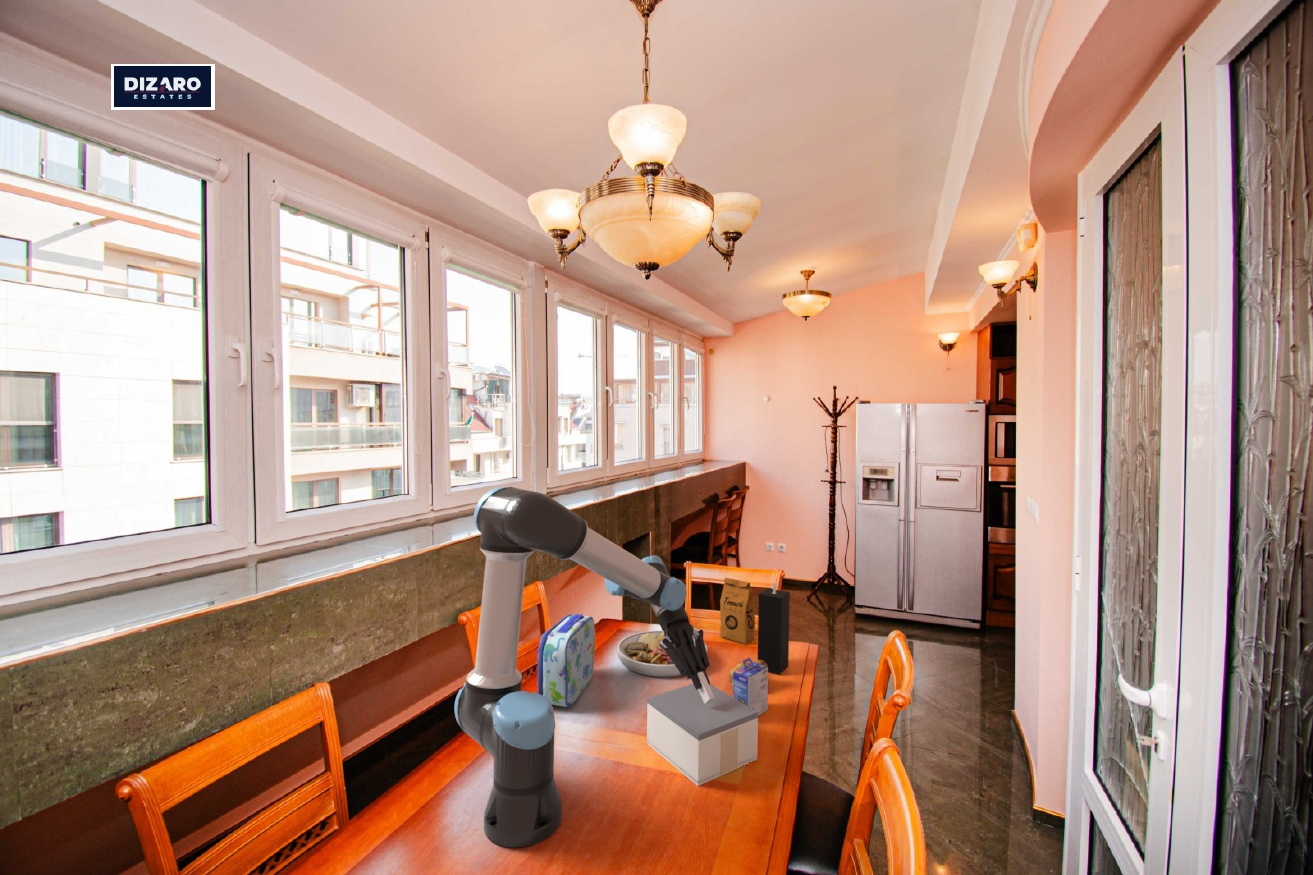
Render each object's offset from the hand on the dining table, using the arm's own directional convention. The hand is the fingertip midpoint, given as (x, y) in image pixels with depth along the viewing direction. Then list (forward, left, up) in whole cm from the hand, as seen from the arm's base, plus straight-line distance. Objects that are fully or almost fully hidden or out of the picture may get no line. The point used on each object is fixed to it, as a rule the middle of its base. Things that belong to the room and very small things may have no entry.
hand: (709, 700), depth 136 cm
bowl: (-11, +55, -14) cm, 58 cm away
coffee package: (+17, +75, -14) cm, 78 cm away
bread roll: (+14, +36, -14) cm, 41 cm away
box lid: (-2, +2, -3) cm, 4 cm away
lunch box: (-39, +32, -14) cm, 52 cm away
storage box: (-2, +2, -13) cm, 14 cm away
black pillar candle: (+25, +50, -14) cm, 57 cm away
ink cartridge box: (+13, +21, -14) cm, 28 cm away
